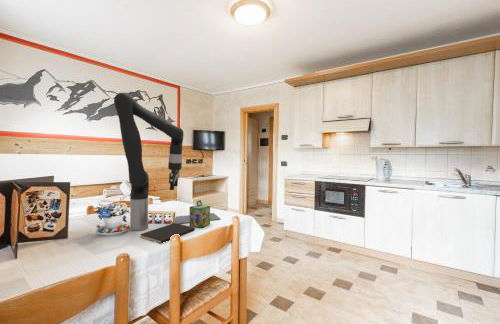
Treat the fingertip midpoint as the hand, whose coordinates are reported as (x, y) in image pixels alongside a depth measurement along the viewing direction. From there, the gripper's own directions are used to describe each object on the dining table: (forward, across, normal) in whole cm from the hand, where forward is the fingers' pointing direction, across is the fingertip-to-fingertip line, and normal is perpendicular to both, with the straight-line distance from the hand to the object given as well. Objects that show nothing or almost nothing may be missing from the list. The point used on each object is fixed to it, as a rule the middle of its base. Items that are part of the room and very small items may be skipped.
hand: (173, 188), depth 146 cm
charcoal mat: (+22, -10, +12) cm, 27 cm away
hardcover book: (+21, +19, +3) cm, 28 cm away
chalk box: (+21, +3, +18) cm, 27 cm away
